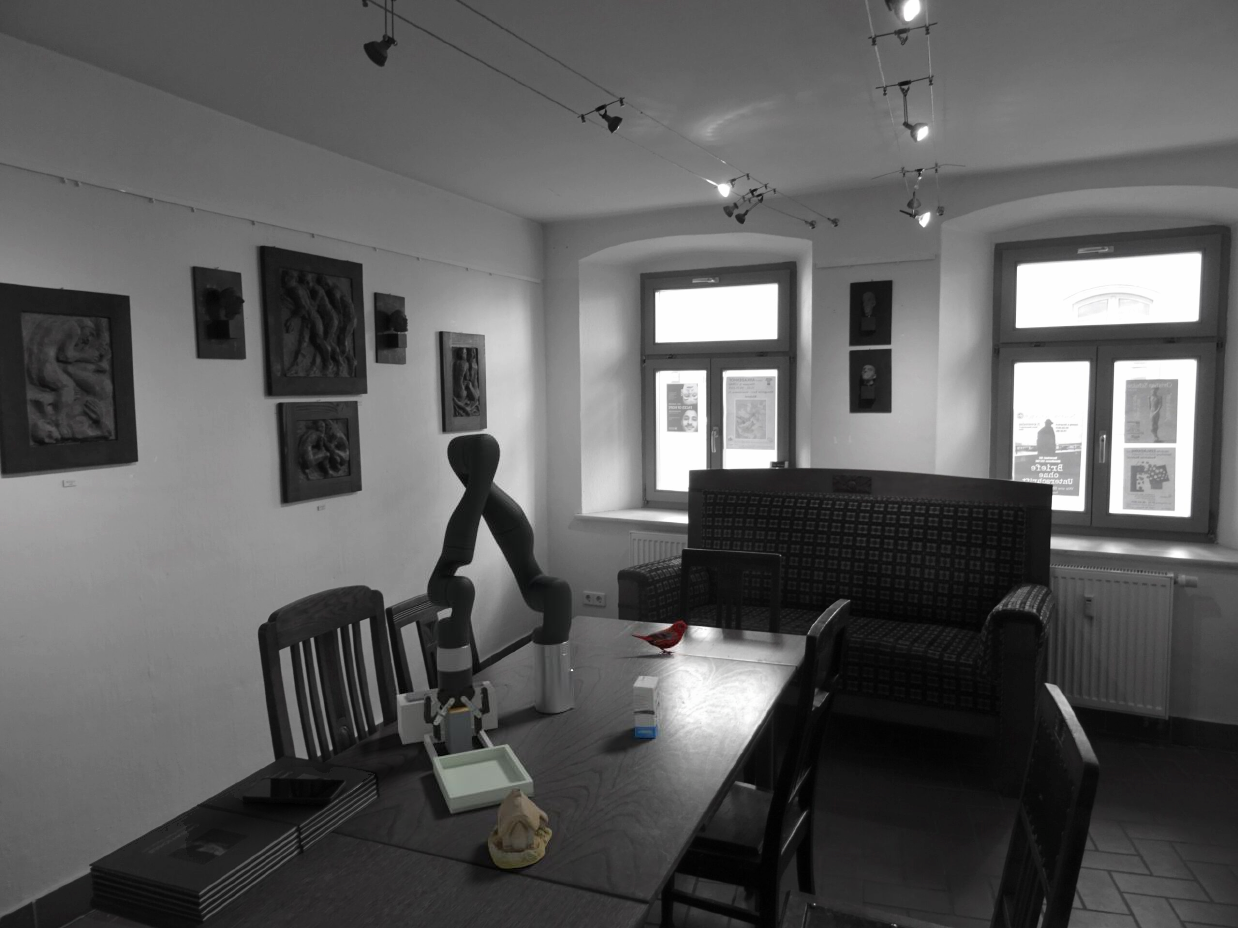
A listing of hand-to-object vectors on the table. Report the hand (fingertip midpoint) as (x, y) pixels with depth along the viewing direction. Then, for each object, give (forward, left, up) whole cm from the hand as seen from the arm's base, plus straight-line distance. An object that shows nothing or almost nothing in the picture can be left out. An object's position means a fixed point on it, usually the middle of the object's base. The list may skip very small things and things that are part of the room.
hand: (458, 736), depth 184 cm
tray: (-1, +19, -3) cm, 19 cm away
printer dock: (0, -5, -3) cm, 6 cm away
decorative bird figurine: (-70, -45, -3) cm, 83 cm away
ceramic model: (-2, +46, -4) cm, 46 cm away
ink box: (-42, +9, -3) cm, 43 cm away
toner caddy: (0, 0, -3) cm, 3 cm away
